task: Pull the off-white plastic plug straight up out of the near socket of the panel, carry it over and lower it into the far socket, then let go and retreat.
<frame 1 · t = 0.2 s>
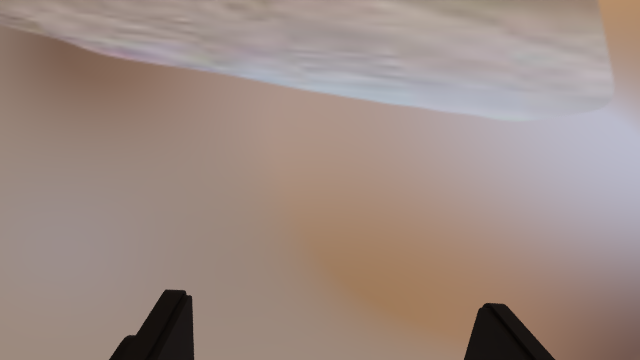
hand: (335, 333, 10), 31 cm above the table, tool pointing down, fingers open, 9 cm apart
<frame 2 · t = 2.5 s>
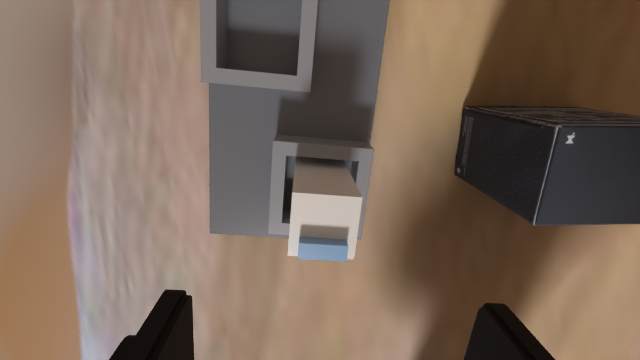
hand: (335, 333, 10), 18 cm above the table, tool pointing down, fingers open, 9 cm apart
small box: (513, 143, 28), on the table
panel: (292, 112, 26), on the table
plug: (317, 181, 27), point 1 cm above the table, touching panel
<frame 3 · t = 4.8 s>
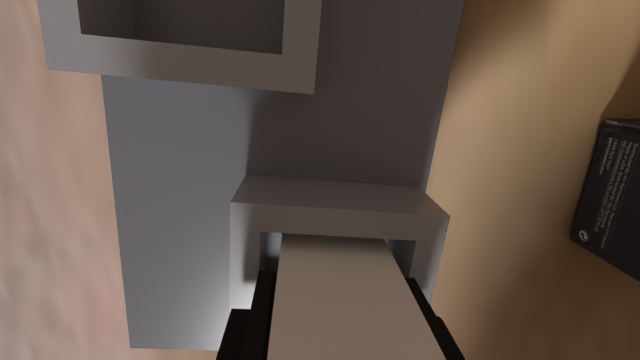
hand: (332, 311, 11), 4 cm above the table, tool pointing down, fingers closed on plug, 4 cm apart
panel: (278, 130, 14), on the table
plug: (325, 258, 15), point 1 cm above the table, touching gripper, panel
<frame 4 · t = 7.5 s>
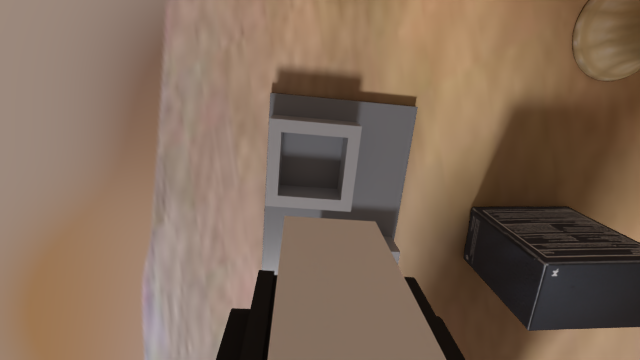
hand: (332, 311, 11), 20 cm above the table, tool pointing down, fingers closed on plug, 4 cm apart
small box: (512, 233, 34), on the table
panel: (331, 213, 32), on the table
hand bell: (615, 32, 28), on the table
plug: (326, 258, 15), point 17 cm above the table, touching gripper
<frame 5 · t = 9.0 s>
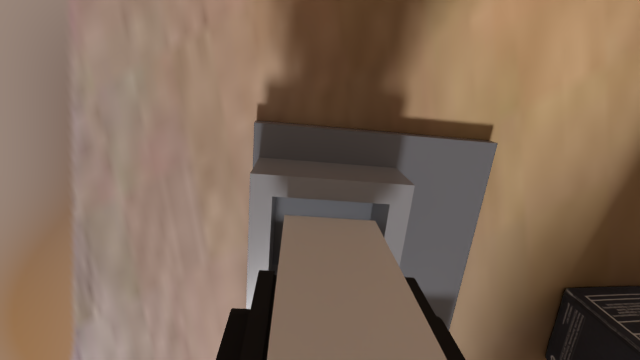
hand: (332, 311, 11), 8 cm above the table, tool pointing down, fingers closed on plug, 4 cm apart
small box: (618, 320, 23), on the table
panel: (351, 299, 21), on the table
plug: (325, 258, 15), point 5 cm above the table, touching gripper
when the fingers open (5 cm above the table, at t = 10.2 s): plug stays where it is, resting on panel.
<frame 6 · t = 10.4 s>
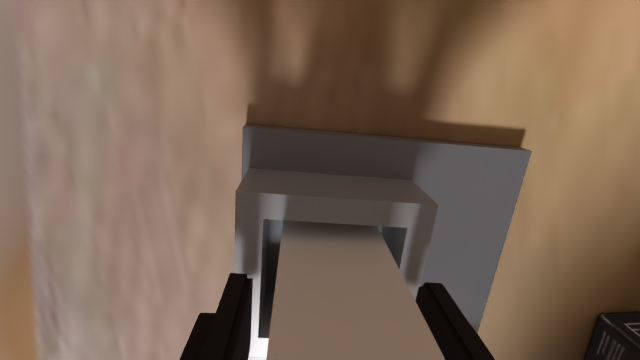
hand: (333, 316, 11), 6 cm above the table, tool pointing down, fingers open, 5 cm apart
panel: (357, 328, 18), on the table
plug: (324, 248, 16), point 1 cm above the table, touching panel
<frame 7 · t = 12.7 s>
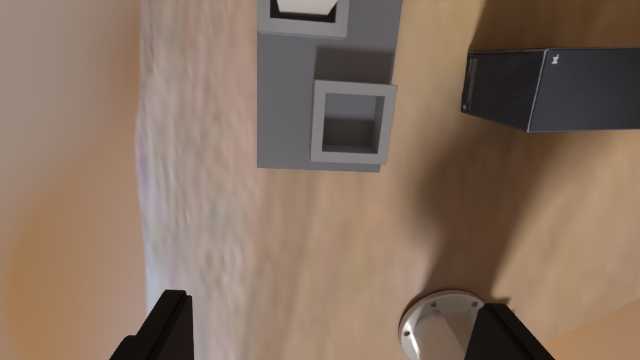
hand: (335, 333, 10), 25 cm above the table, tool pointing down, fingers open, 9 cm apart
small box: (510, 83, 34), on the table
panel: (326, 59, 31), on the table
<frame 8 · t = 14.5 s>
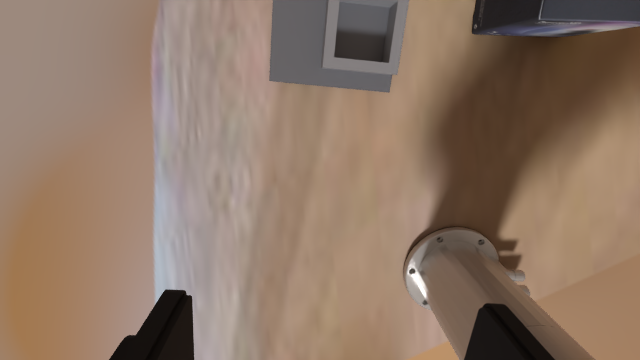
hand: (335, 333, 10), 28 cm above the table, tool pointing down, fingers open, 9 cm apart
small box: (521, 6, 34), on the table
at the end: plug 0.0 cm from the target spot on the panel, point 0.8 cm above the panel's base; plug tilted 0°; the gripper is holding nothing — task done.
